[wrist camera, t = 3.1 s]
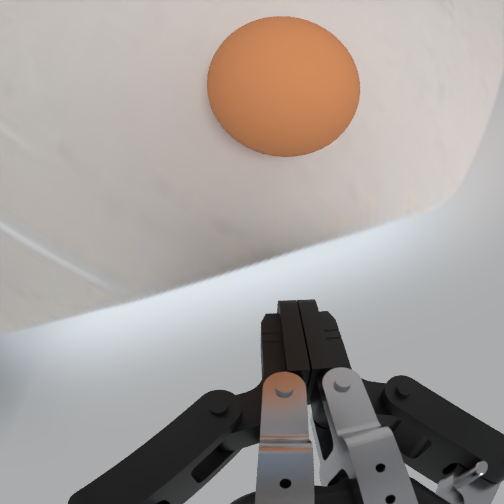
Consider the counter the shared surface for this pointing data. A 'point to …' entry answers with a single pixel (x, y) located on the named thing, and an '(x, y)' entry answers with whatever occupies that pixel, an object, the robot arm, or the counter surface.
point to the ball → (283, 86)
